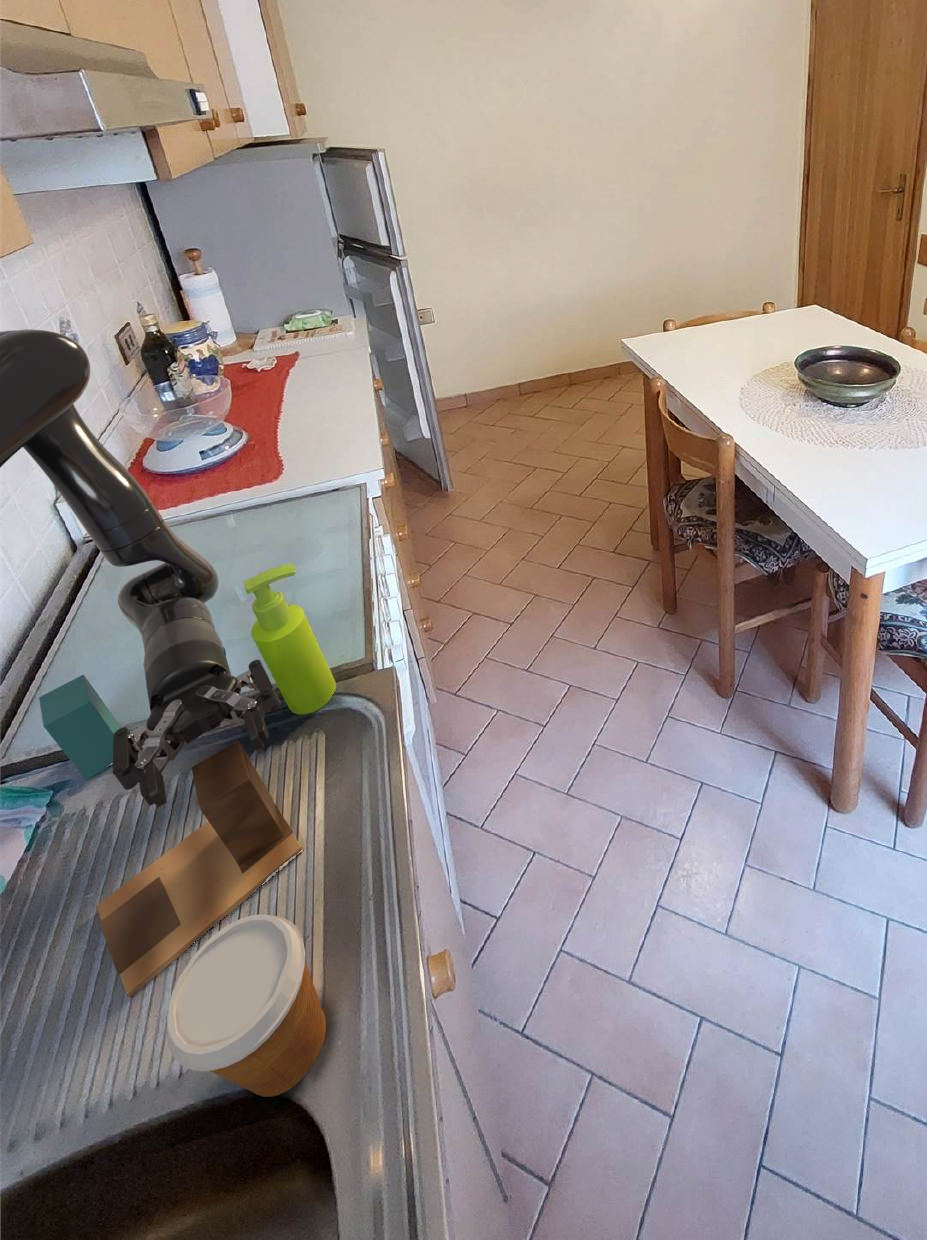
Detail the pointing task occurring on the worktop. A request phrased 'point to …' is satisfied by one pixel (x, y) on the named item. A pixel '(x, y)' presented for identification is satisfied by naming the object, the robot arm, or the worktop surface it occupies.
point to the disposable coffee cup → (248, 1007)
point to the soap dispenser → (289, 645)
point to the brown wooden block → (236, 802)
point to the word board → (182, 900)
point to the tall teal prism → (80, 725)
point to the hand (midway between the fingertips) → (209, 770)
